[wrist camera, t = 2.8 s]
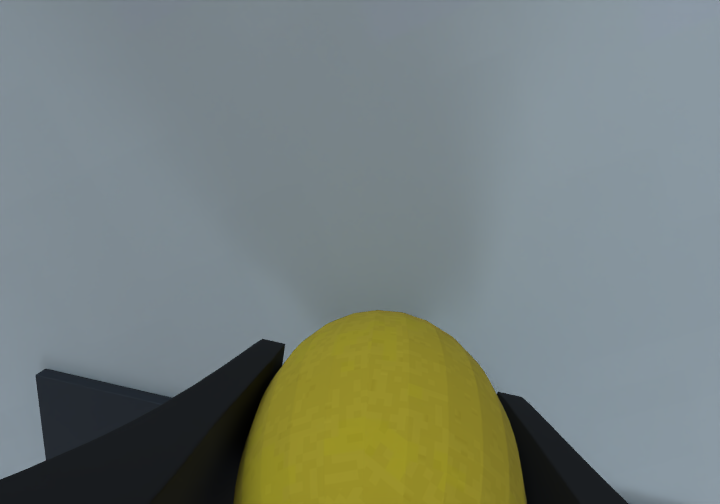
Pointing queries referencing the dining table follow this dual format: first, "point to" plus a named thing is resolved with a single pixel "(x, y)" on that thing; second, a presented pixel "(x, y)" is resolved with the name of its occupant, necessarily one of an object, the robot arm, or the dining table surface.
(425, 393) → the lemon
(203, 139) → the dining table surface
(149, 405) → the mat
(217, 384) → the robot arm
